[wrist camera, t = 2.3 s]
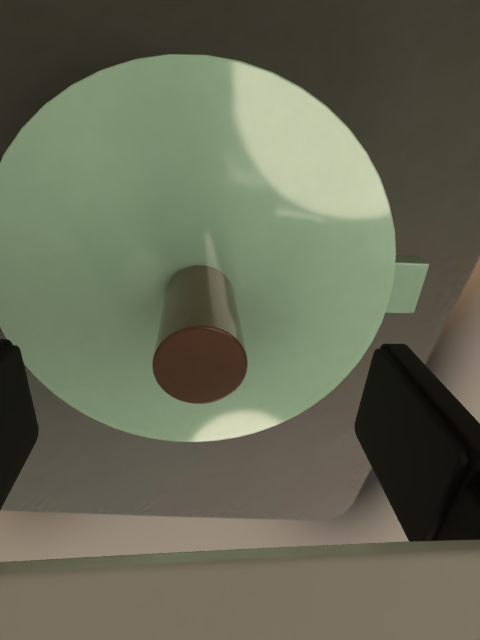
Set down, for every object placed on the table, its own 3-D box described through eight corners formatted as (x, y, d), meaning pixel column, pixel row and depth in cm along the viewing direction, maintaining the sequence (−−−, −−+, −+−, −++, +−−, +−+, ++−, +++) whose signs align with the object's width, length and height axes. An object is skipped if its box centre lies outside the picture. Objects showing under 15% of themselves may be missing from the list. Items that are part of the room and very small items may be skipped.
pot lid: (-60, 34, 11) (-286, -37, 6) (432, 81, 13) (588, 58, 8) (37, 427, 18) (-26, 549, 13) (342, 422, 20) (392, 527, 15)
